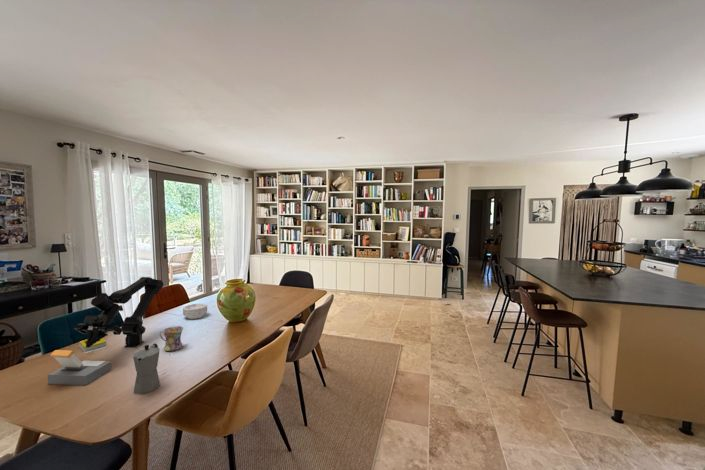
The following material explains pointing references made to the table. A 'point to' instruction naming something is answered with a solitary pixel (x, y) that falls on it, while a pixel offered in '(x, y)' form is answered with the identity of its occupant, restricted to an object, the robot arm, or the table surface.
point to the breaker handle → (67, 359)
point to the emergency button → (93, 346)
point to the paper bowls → (195, 311)
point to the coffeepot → (146, 369)
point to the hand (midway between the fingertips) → (87, 347)
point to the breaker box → (80, 373)
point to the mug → (172, 338)
